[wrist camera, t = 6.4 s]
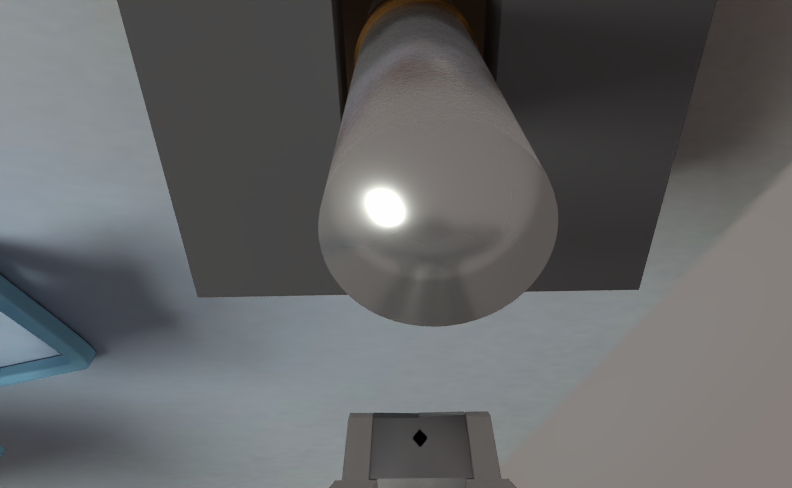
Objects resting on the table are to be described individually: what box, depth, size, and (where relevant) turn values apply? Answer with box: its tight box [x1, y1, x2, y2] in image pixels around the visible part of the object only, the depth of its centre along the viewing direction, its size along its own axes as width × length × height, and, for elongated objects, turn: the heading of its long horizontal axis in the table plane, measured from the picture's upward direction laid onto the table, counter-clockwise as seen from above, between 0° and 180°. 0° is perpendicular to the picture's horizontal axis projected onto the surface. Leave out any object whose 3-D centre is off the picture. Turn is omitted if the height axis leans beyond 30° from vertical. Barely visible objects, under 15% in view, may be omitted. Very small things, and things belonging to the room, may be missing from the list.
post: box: [318, 0, 558, 326], centre depth 13 cm, size 3×3×14 cm
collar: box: [117, 0, 717, 297], centre depth 15 cm, size 14×14×2 cm
